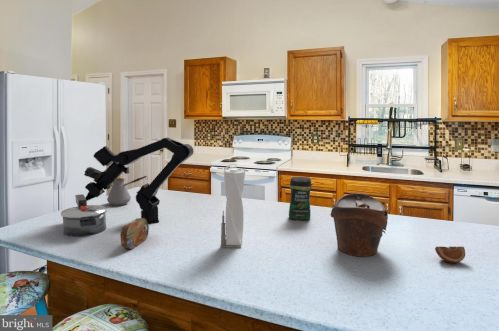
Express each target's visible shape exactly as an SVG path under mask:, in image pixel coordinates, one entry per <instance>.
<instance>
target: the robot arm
mask: <svg viewBox="0 0 499 331" xmlns="http://www.w3.org/2000/svg"><path fill="white" fill-rule="evenodd" d="M162 149H166V150H168V151H169V152H171V153H172V156H171V157H170V158H171V159H170V161H168V163H167V164H166V165H165V166H164V167H163V168H162V170H161V171H160V172H158V174H157V175H156V176H155V177H154V179H153V180H152V181H151V182H150V183H145V184H143V185H141V187H140V188H139V190H138V191H136V195H135V202H136V203H137V204H138V205H139V208H140V218H145V219H146V220H147V222H148V224H154V223H159V222H160V219H159V207H158V206H159V205H160V202H161V201H160V199H159V198H158V197H157V195H158V191H159V189H160V188H161V187H162V185H164V183H165V182H166V181H167V180H168V178H170V176H172V174H173V173H174V172H175V170H176V169H178V168H179V166H180V165H181V164H183V163H185V161H187V160H188V159H190V158H191V157H192V156H193V154H194V148H193V146H192V145H191V144H189V143H182V142H179V141H177V140H174V139H172V138H170V137H164V138H161V139H159V140H157V141H155V142H151V143H149V144H146V145H143V146H141V147H139V148H135V149H134V148H133V149H129V150H125V151H120V152H119V153H117V154H114V153H113V152H112V150H110V148H109V147H108V146H106V145H104V146H102V147H101V148H100V149H99V150H97V151H95V153H93V158H94V159H95V160H96V161H97V162H98V163H99V164H100V165H101V166H102V167H105V166H106V167H107V168H106V169H105V170H103V171H101V170H99V169H98V168H97V169H96V168H94V167H91V166H89V167H87V168H86V169H85V171H84V176H85V177H88V178H90V179H93V181H90V182H89V183H87V184H86V185H85V187H84V188H85V189H86V190H87V191H88V193H86V196H84V197H85V198H86V200H87V202H88V201H90V200H92V199H95V198H98V197H99V196H101V195H102V194H104V193H105V192H106V191H105V190H107V191H108V190H109V189H111V188H112V185H113V182H114V181H115V180H116V179H117V178H120V176H121V175H122V174H123V173H124V175H127V174H130V167H129V165H131V164H134V163H135V162H137V161H139V160H140V159H141V158H143V157H145V156H148V155H150V154H153V153H155V152H158V151H161V150H162ZM127 165H128V166H127Z"/></svg>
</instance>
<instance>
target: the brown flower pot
mask: <svg viewBox="0 0 499 331" xmlns="http://www.w3.org/2000/svg"><path fill="white" fill-rule="evenodd" d="M330 217H331V218H332V219H333V222H334V229H335V230H334V231H335V237H336V242H337V243H336V245H337V248H338V250H340V251H341V252H342V253H344V254H347V255H349V256H353V257H354V256H355V257H371V256H374V255H376V254H377V252H378V250H379V246H380V242H381V239H382V237H383V233H384V234H386V231H387V226H388V218H389V215H388V211H387V208H386V207H385V206H384V204H383V203H382V202H381V201H379V200H378V199H376V198H374V197H373V196H370V195H368V194H364V193H359V192H355V193H353V192H352V193H347V194H345V195H343V196H342V197H340V198H338V199H337V200H336V202H334V205H333V206H332V209H331V211H330Z"/></svg>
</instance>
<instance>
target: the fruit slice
mask: <svg viewBox="0 0 499 331" xmlns="http://www.w3.org/2000/svg"><path fill="white" fill-rule="evenodd" d="M434 250H435V253H436V254H437V256H438V257H439V258H440V259H441V260H443V261H444V262H446V263H449V264H458V263H460V262H461V261H463V260H464V259H465V257H466V249H465V246H435V248H434Z"/></svg>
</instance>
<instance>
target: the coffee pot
mask: <svg viewBox="0 0 499 331" xmlns="http://www.w3.org/2000/svg"><path fill="white" fill-rule="evenodd" d="M144 178H145V180H146V181H147V180H149V177H148V176H147V175H144V176H141V177H139V178H136V179H133V180H132V181H129V182H127V183H125V181H126V178H122V177H121V178H120V177H118V178H117V179H116V180H115V181H114V182H113V183H112V186H111V187H110V191H109V193H108V196H107V198H106V200H107V202H108V204H110V205H111V206H115V207H117V206H124V205H127V204H128V203H130V201H131V199H132V197H131V195H130V193H129V191H128V189H127V187H126V186H128V185H131V184H133V183H136V182H139V181H141V180H144Z"/></svg>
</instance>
